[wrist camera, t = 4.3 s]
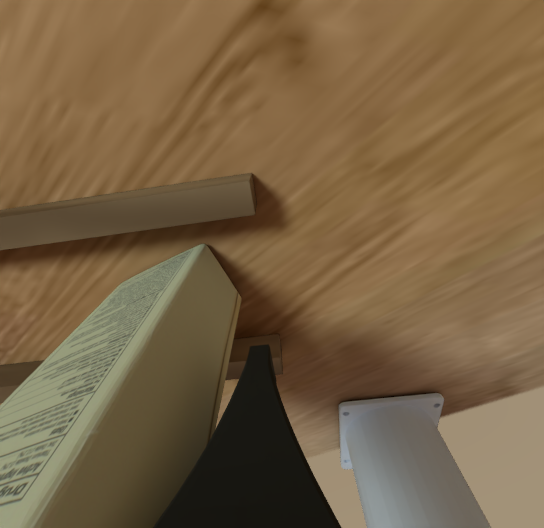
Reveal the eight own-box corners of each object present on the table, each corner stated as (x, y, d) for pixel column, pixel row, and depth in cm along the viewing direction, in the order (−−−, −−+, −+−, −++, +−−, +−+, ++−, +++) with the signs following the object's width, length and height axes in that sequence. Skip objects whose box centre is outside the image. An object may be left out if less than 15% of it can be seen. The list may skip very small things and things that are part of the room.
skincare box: (164, 330, 18) (-8, 646, 7) (118, 279, 16) (-206, 601, 5) (246, 296, 16) (186, 630, 6) (206, 235, 15) (5, 559, 4)
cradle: (281, 350, 19) (282, 374, 17) (-30, 384, 20) (-59, 409, 18) (251, 172, 13) (249, 180, 11) (-178, 236, 14) (-240, 252, 13)
